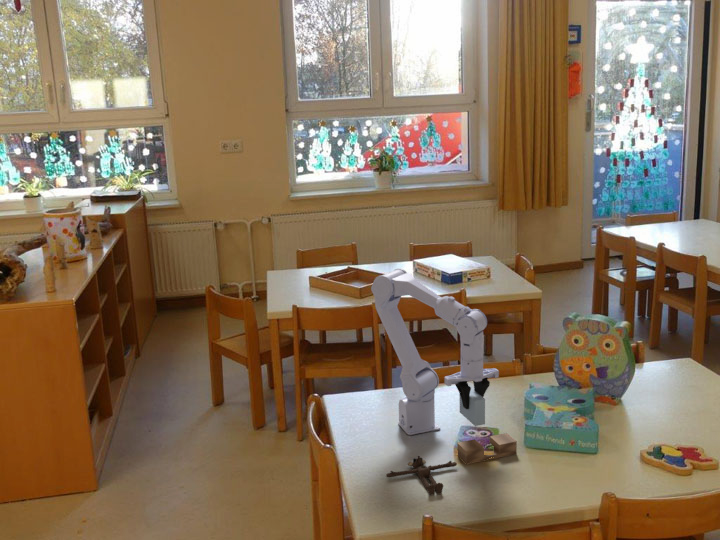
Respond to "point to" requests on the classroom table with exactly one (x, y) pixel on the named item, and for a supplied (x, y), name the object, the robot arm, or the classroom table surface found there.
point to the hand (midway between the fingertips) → (471, 406)
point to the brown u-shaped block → (475, 451)
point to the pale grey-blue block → (474, 409)
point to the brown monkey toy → (424, 474)
